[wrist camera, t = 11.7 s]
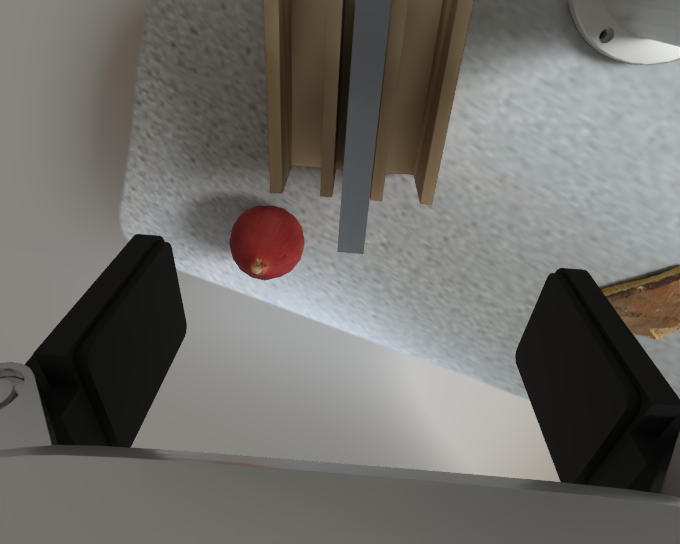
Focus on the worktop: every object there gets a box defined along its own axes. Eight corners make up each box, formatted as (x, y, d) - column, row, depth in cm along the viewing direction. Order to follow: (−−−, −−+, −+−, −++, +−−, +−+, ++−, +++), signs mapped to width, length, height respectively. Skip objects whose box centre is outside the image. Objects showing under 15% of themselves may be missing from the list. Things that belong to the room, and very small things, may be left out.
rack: (463, -10, 27) (484, -4, 22) (428, 171, 34) (439, 205, 29) (273, -24, 27) (253, -22, 22) (277, 159, 34) (262, 191, 29)
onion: (299, 255, 39) (287, 312, 33) (237, 238, 39) (211, 294, 32) (315, 200, 36) (305, 251, 30) (247, 180, 35) (221, 229, 29)
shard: (561, 297, 41) (568, 309, 40) (619, 234, 37) (630, 244, 36) (650, 333, 43) (660, 346, 42) (715, 276, 39) (729, 288, 38)
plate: (382, -19, 26) (392, -9, 17) (363, 168, 33) (363, 253, 23) (359, -21, 26) (356, -12, 17) (345, 167, 33) (337, 251, 23)
